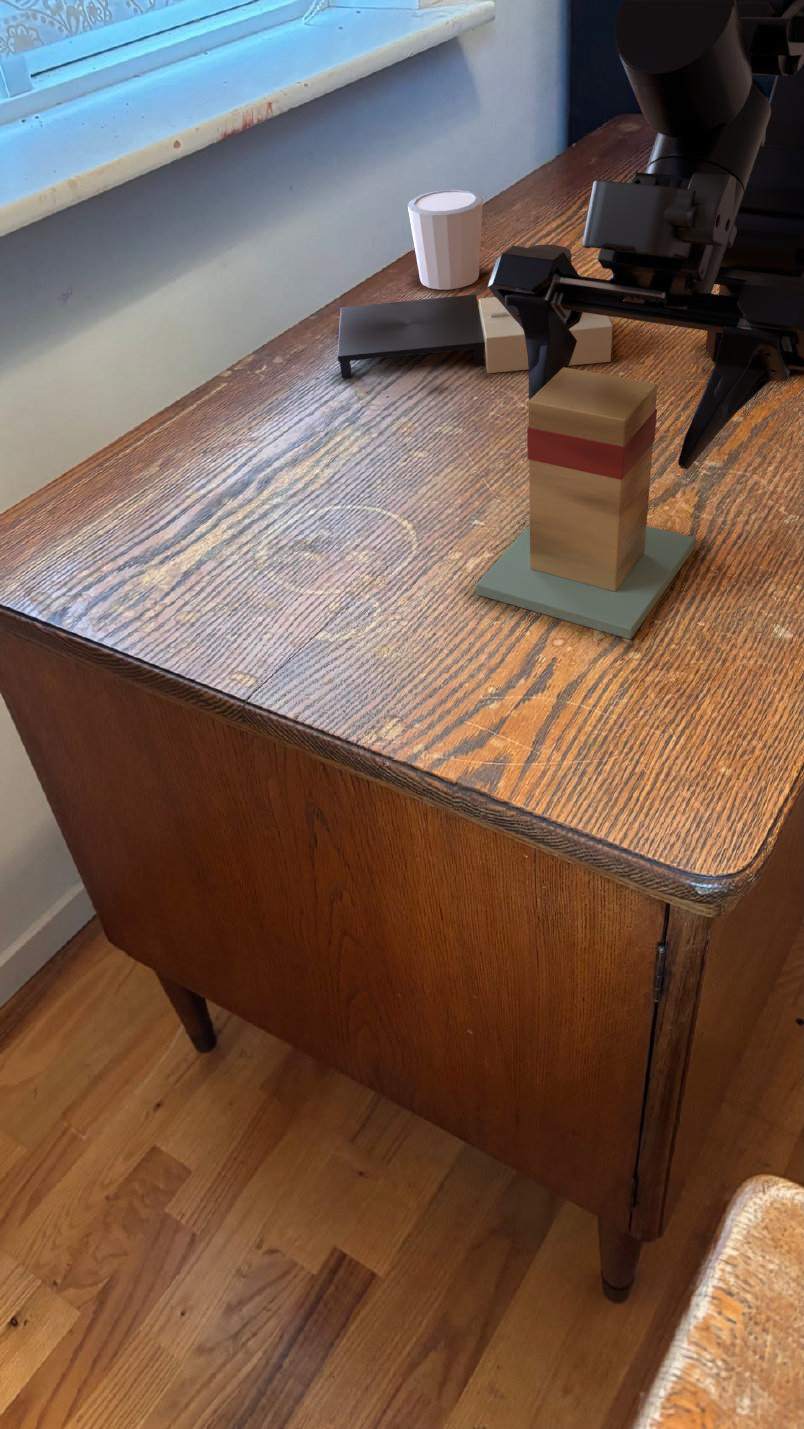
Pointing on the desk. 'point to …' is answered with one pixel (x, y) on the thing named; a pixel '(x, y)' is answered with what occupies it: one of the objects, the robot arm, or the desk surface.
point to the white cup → (447, 237)
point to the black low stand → (410, 329)
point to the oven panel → (510, 344)
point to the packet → (590, 475)
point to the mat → (584, 601)
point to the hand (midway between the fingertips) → (606, 451)
